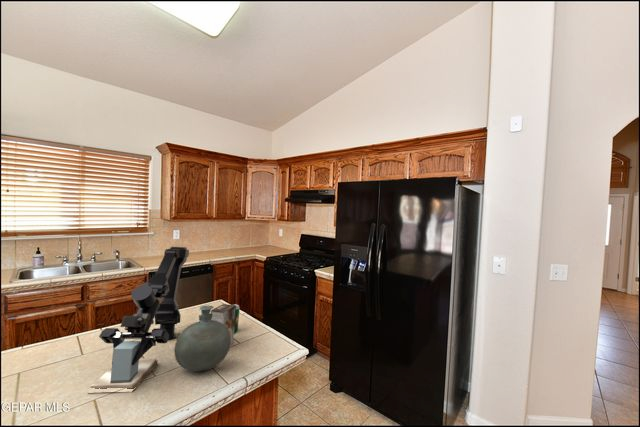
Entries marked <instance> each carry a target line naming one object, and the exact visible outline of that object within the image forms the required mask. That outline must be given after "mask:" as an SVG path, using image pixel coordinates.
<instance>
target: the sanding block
mask: <svg viewBox="0 0 640 427" xmlns="http://www.w3.org/2000/svg"><path fill="white" fill-rule="evenodd" d="M140 343H141V340H130V341H129V340H128V341H127V340H126V341H125V340H124V341H123V342H122V343H121V344H119V345H118V346H117V347H116V348H114V351H112V358H113V361H112V360H111V368H112V371H111V381H110V383H129V382H130V381H131V380H132V379H133V378H134V376H135V375H136V374H137V373H138V364H139V360H138V361H137V362H136V363H135V365H132V361H133V358H134V356H135V354H136V352H137V350H138V348H139V346H140Z"/></svg>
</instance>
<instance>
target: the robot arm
mask: <svg viewBox="0 0 640 427" xmlns="http://www.w3.org/2000/svg"><path fill="white" fill-rule="evenodd" d="M189 254H190V251H189V249H188V248H187V247H186V246H171V247H169V248H165V249H164V254H163V258H162V260H161V262H160V264H159V266H158V268H157V270H156V272H155V274H154V275H153V276H152V277H150V278H149V279H148V280H147V281H146V282H142V284H141V285H138V286H136V287H135V289H133V290H132V291H131V295H130V296H131V298H132V300H133V303H134V304H135V306H136V307H137V308H138V309H137V311H136V313H133V314H132V315H123V318H122V321H121V324H120V328H124V330H125V331H126V332H124V331H121V330H120V329H119V328H117V327H111V328H109V327H108V328H107V327H106V328H105V329H103V330H101V332H100V334H99V336H98V337H99V339H100V340H102V341H103V342H104V344H108V345H109V344H112V346H113V347H112V348H113V351H114V348H116V347H117V346H118V345H119V344H121V343H122V342H123V341H125V340H131V339H132V340H140V341H141V343H140V346H139V348H138V350H137V352H136V354H135V356H134V358H133V361H132V365H135V363H136V362H137V361H138V360H139V359H142V357H144V355H145V354H146V353H147V352H148V351H150V349H151V348H152V347H156V346H157V344H168V341H169V340H173V339H177V335H176V333H175V330H176V325H177V324H179V323H181V317H182V316H181V313H180V310H179V304H178V301H177V294H178V287H179V282H180V276H181V272H182V267H183V266H184V264H185V263H187V260H188V258H189ZM159 299H163V300H162V301H161V302H160V301H159ZM152 325H155V326H157V325H159V328H153V329H152V330H151V331H149V330H150V328H151V326H152ZM113 351H112V352H113ZM112 361H113V357H112V359H111V362H112Z"/></svg>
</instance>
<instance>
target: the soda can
mask: <svg viewBox="0 0 640 427" xmlns="http://www.w3.org/2000/svg"><path fill="white" fill-rule="evenodd" d="M235 305H236V314H235V328H234V334H235V333H237V332H238V330H239V320H240V319H239V318H240V309H241V308H240V305H239V304H235Z"/></svg>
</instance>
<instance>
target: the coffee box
mask: <svg viewBox="0 0 640 427" xmlns="http://www.w3.org/2000/svg"><path fill="white" fill-rule="evenodd" d="M236 305H237V304H228V303H227V304H226V303H222V304H220V305H219V306H217V307H214V308H212V309H211V311H210V313H212V319H211V320H214V321H219V322H221V323H223V324H224V325H225V326H226V327H227V328H228V330H229V333H230V337H231V344H230V346H231V345H232V344H233V343H234V340H235V338H234V337H235V333H234V328H235V314H236Z"/></svg>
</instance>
